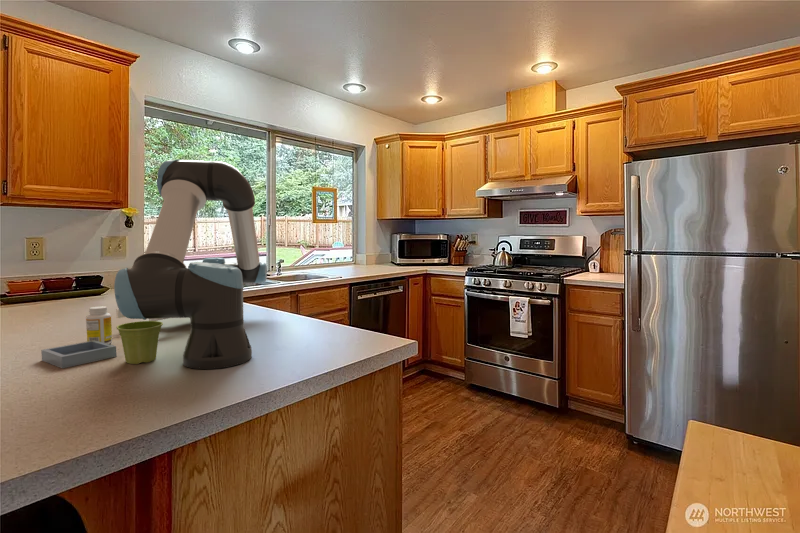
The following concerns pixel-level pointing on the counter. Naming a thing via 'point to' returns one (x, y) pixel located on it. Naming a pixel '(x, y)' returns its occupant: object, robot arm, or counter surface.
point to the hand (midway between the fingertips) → (133, 315)
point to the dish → (78, 353)
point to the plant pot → (140, 340)
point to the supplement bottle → (99, 325)
